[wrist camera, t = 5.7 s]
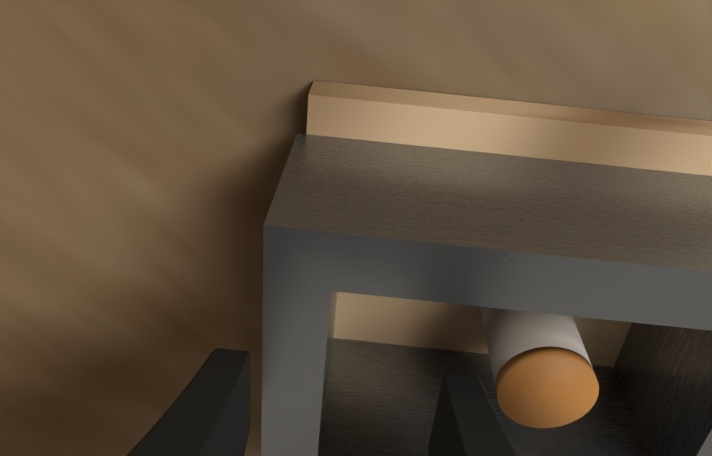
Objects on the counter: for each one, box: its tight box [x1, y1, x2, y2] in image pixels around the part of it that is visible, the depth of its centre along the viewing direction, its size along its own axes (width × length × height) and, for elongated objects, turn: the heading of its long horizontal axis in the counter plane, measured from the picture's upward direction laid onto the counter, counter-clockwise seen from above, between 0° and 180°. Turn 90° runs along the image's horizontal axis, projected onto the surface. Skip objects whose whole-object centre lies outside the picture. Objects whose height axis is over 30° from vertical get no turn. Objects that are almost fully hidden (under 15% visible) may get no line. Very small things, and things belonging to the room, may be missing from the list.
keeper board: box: [306, 80, 712, 428], centre depth 14 cm, size 11×9×4 cm
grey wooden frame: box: [261, 133, 712, 456], centre depth 13 cm, size 10×7×4 cm
